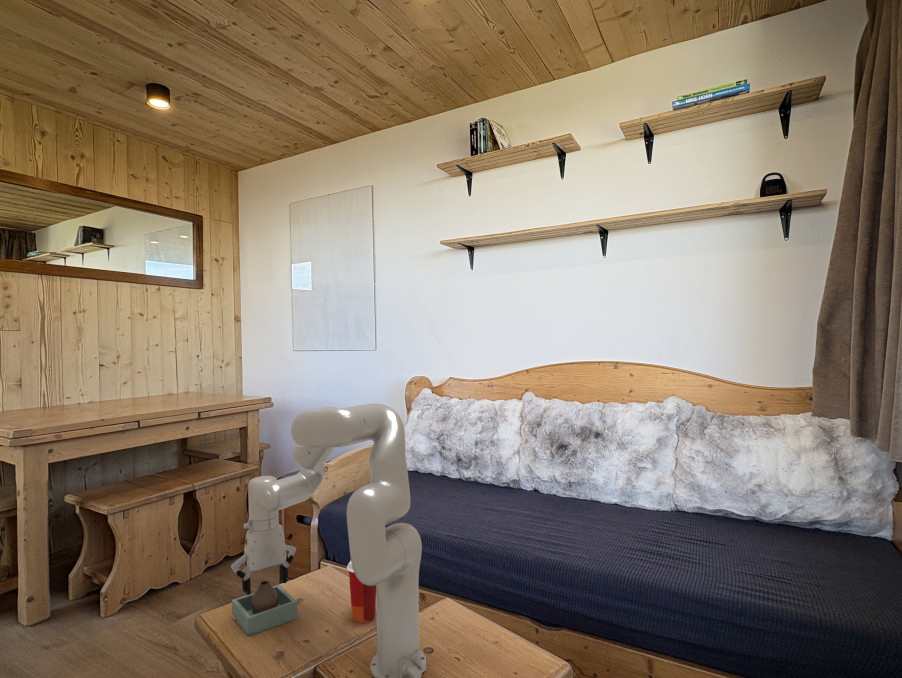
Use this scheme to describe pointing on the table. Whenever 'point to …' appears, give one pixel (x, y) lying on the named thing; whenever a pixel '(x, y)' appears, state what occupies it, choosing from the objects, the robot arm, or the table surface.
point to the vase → (264, 598)
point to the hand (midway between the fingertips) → (265, 587)
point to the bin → (264, 613)
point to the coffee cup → (361, 598)
